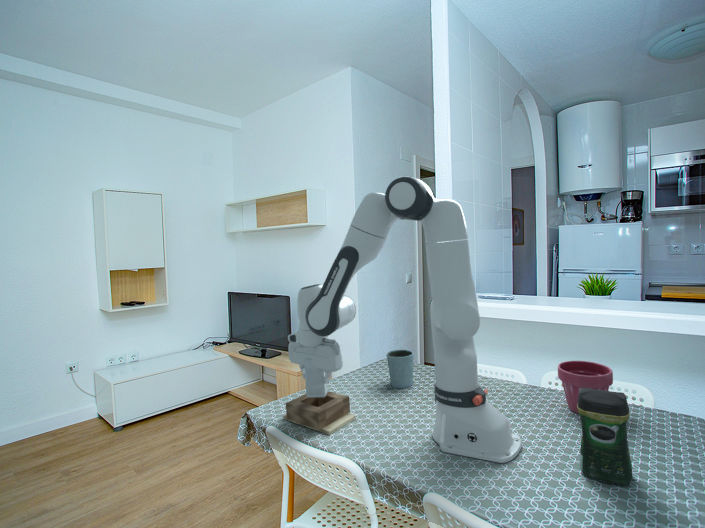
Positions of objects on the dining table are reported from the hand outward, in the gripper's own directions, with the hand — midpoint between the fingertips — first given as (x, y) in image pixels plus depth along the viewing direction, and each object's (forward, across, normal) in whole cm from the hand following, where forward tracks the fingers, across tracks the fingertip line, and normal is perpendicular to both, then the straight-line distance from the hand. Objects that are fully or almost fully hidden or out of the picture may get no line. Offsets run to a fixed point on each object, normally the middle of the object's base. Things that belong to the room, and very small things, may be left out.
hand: (316, 380), depth 119 cm
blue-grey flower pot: (+12, -7, -38) cm, 41 cm away
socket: (+12, 0, 0) cm, 12 cm away
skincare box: (+5, 0, 0) cm, 5 cm away
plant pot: (+12, -66, -47) cm, 82 cm away
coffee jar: (+12, -74, -13) cm, 76 cm away
